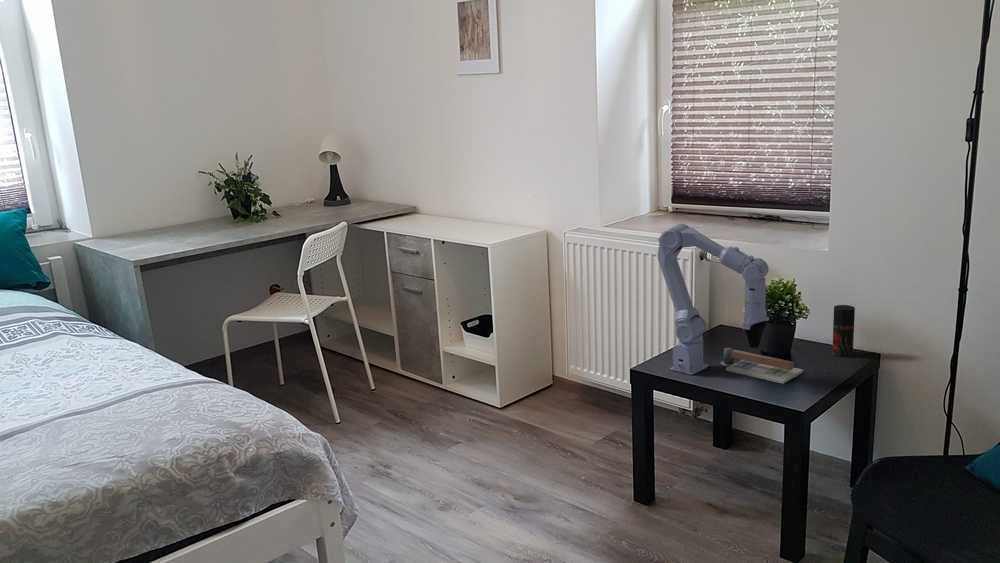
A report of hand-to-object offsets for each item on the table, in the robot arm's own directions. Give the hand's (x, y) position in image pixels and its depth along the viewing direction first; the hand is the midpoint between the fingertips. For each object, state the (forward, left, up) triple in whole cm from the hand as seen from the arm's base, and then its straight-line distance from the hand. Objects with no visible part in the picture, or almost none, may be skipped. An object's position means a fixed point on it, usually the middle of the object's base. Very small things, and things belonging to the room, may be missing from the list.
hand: (754, 346), depth 237 cm
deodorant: (+34, -11, -10) cm, 37 cm away
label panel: (+6, +3, -9) cm, 12 cm away
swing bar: (+6, +2, -9) cm, 11 cm away
